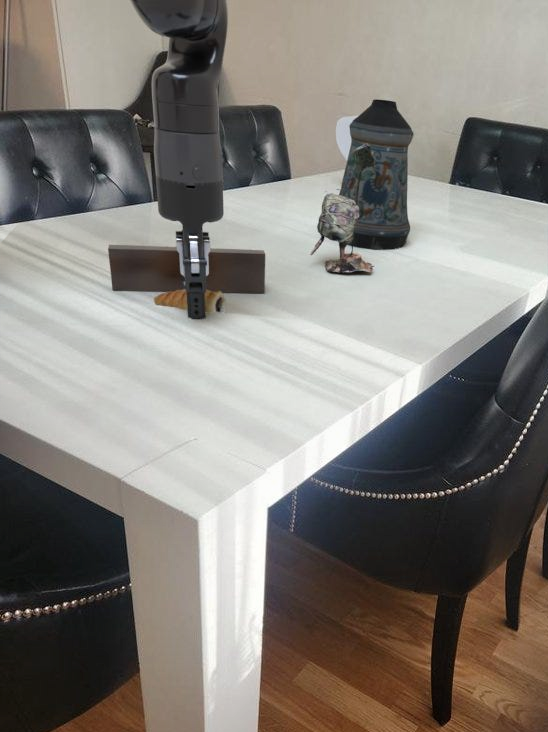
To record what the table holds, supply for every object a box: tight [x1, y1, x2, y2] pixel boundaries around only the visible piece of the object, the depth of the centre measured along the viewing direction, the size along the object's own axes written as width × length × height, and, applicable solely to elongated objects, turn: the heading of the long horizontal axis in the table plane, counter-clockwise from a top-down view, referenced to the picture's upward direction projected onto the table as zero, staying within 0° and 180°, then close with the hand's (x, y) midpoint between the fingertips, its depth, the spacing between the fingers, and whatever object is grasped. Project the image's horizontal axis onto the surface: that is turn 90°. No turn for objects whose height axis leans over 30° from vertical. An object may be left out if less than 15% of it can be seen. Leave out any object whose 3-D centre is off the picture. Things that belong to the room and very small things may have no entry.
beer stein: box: [338, 99, 415, 251], centre depth 129 cm, size 16×19×25 cm
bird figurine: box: [309, 143, 376, 274], centre depth 109 cm, size 8×11×20 cm
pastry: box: [153, 289, 228, 314], centre depth 88 cm, size 9×7×4 cm
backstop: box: [107, 244, 266, 294], centre depth 96 cm, size 22×2×6 cm, turn 104°
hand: (196, 319), depth 84 cm, fingers closed
